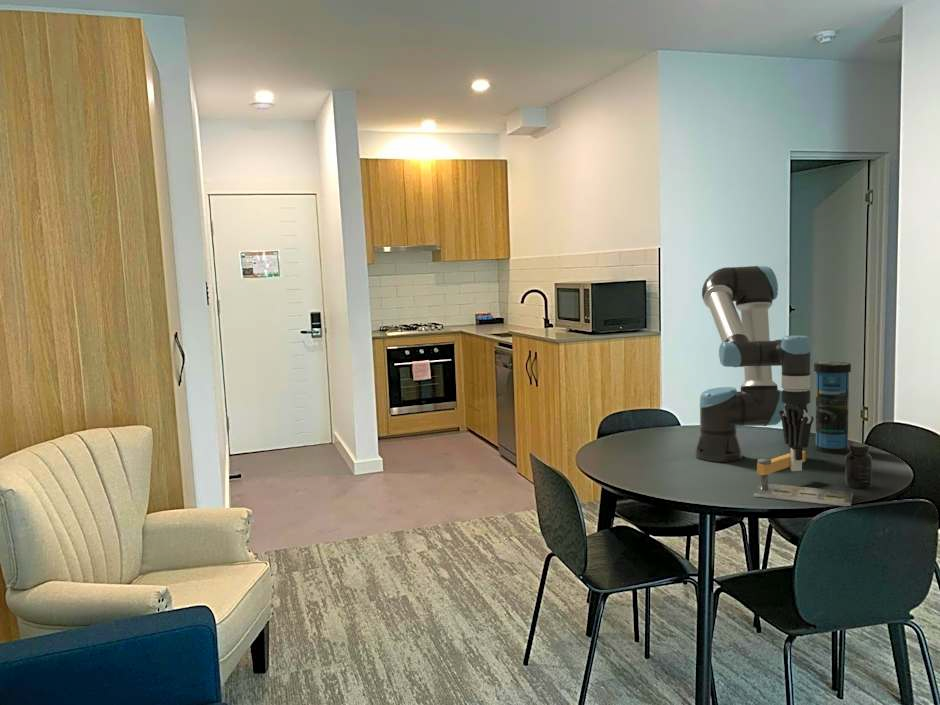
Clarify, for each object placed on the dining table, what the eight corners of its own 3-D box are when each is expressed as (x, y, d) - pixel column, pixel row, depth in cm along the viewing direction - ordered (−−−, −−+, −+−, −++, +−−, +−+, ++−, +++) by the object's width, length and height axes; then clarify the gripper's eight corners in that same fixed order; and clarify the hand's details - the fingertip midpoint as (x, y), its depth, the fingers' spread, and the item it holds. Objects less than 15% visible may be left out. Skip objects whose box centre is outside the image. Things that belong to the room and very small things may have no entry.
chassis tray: (753, 496, 205) (753, 478, 205) (760, 486, 215) (760, 469, 214) (850, 506, 193) (850, 488, 193) (852, 495, 203) (852, 477, 202)
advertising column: (839, 445, 259) (839, 360, 256) (856, 453, 248) (857, 364, 245) (807, 446, 259) (808, 362, 256) (823, 454, 247) (824, 366, 244)
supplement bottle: (840, 483, 214) (840, 442, 213) (862, 481, 215) (863, 441, 214) (854, 490, 207) (854, 448, 206) (877, 488, 208) (878, 446, 207)
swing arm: (766, 475, 206) (766, 462, 205) (754, 473, 209) (754, 460, 208) (807, 461, 219) (807, 449, 218) (796, 459, 222) (796, 447, 221)
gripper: (822, 391, 205) (822, 474, 207) (794, 386, 218) (794, 464, 220) (797, 393, 204) (798, 476, 206) (771, 387, 217) (771, 466, 219)
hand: (796, 470), depth 213 cm, fingers closed
